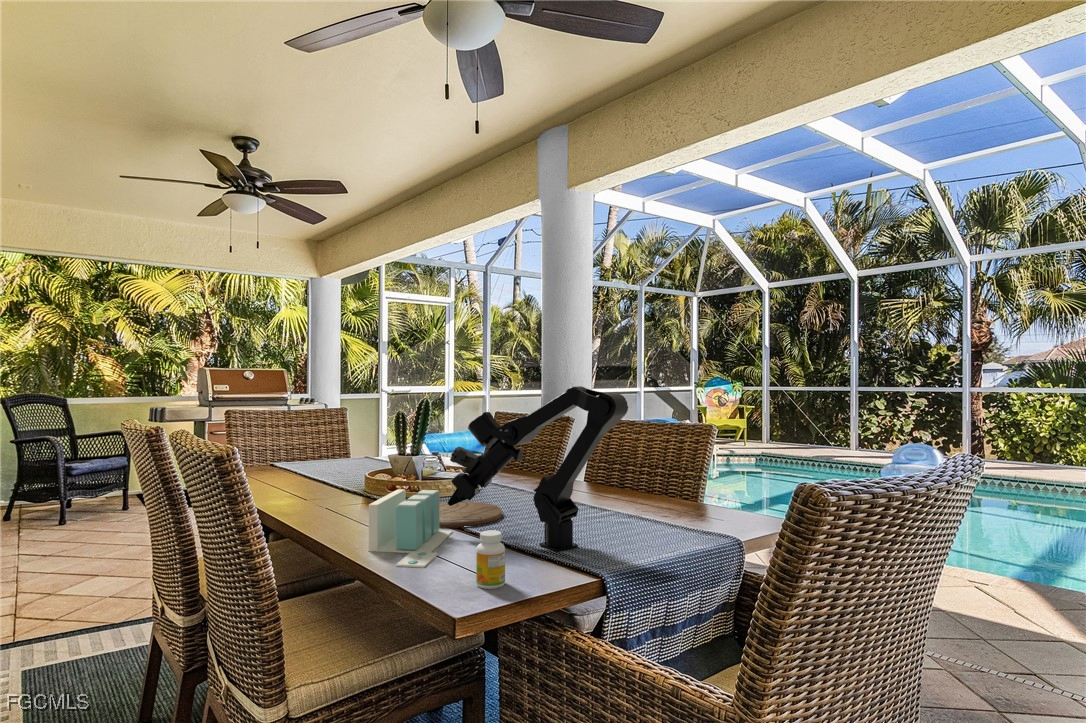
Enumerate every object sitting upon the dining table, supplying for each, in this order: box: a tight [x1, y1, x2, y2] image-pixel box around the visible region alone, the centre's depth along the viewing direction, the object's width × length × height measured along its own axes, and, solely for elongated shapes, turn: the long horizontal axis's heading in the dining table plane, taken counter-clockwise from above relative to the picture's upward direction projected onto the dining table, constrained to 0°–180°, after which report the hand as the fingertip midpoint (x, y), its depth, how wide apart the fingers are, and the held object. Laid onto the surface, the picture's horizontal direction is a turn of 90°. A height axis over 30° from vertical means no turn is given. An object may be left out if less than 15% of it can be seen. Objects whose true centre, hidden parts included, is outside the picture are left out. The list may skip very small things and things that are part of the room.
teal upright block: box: [406, 494, 431, 542], centre depth 150 cm, size 4×4×10 cm
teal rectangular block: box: [416, 489, 441, 534], centre depth 156 cm, size 4×4×10 cm
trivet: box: [439, 501, 503, 529], centre depth 175 cm, size 25×25×2 cm
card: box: [395, 552, 439, 568], centre depth 135 cm, size 6×9×1 cm, turn 172°
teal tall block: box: [396, 500, 423, 550], centre depth 143 cm, size 4×4×10 cm
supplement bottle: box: [475, 529, 506, 590], centre depth 120 cm, size 5×5×10 cm
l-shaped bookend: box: [368, 488, 454, 554], centre depth 150 cm, size 14×18×10 cm
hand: (449, 504), depth 156 cm, fingers closed
